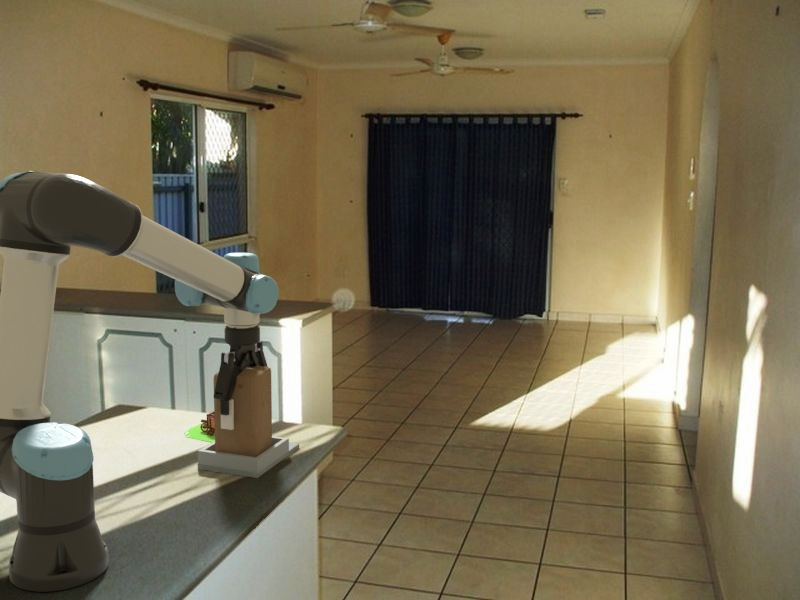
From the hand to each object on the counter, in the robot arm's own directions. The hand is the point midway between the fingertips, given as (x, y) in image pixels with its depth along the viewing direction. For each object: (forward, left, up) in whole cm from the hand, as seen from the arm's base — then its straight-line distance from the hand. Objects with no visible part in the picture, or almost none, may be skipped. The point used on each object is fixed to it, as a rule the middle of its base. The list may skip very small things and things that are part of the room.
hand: (243, 419), depth 189 cm
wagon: (+16, +16, -10) cm, 25 cm away
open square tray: (+3, 0, -10) cm, 10 cm away
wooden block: (0, 0, -9) cm, 9 cm away
